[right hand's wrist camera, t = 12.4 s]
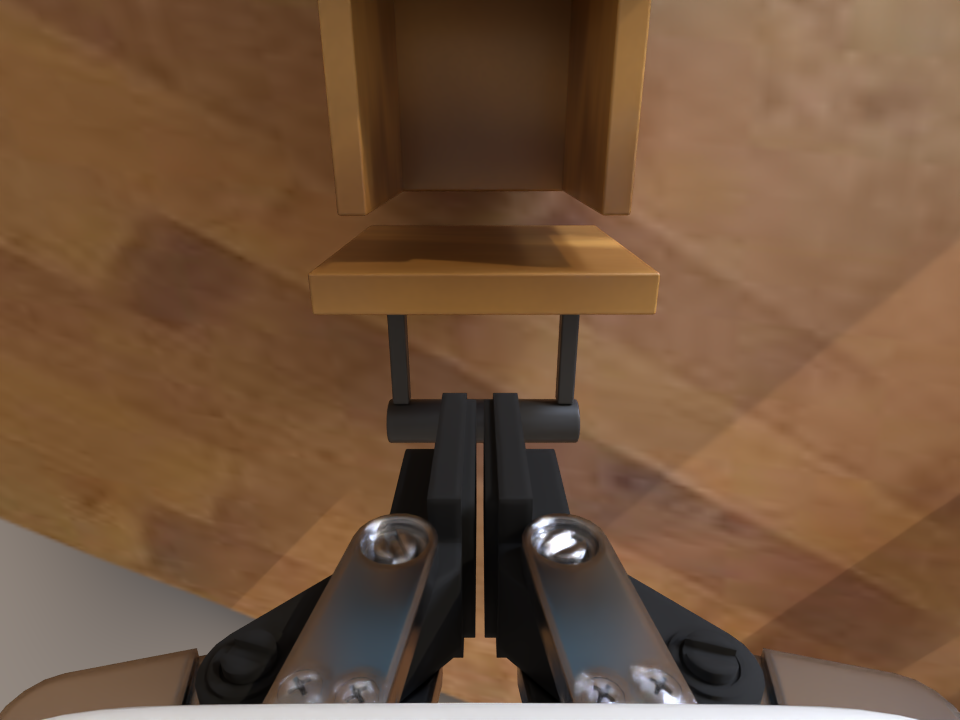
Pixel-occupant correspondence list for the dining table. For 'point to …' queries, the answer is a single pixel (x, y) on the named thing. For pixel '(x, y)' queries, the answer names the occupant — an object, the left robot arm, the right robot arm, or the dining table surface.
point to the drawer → (484, 172)
